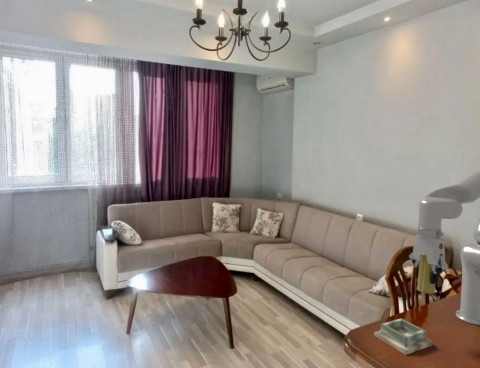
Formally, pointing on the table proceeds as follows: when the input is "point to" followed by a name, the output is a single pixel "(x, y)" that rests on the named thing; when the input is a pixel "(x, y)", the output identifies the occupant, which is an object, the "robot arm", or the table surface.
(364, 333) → the table surface
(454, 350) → the table surface
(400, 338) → the vase stand
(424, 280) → the vase
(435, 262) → the robot arm
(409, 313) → the table surface
